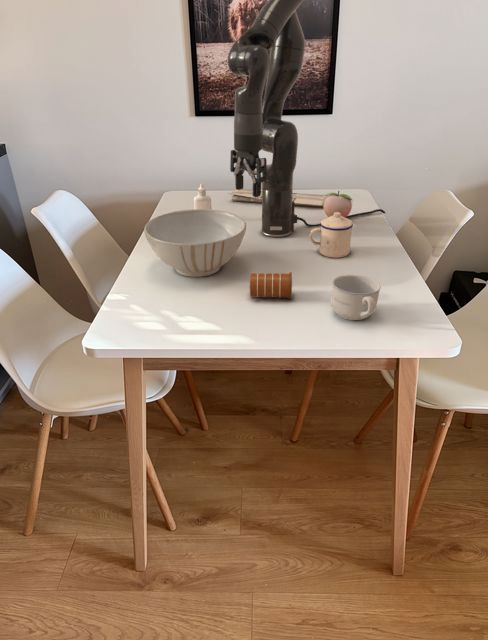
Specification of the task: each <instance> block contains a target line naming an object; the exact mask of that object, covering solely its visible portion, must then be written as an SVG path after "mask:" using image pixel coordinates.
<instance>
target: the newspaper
mask: <svg viewBox="0 0 488 640" xmlns="http://www.w3.org/2000/svg"><path fill="white" fill-rule="evenodd" d="M227 194H229V195H232V196H231V200H232V202H240V203H241V202H243V203H259V204H260V203H261V204H262V190H261V195H260V196H259V197H254V196H253V189H244V188H243V189H240V190H237V189H236V188H235V189H234V190H233V191H231V192H228V193H227ZM325 195H326V194H315V193H299V192H292V201H294V203H295V206H309V207H321V208H322V207H323V208H324V201H325V199H326V198H327V197H328V196H329V195H327V196H325Z"/></svg>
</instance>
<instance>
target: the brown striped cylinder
mask: <svg viewBox="0 0 488 640" xmlns="http://www.w3.org/2000/svg"><path fill="white" fill-rule="evenodd" d="M292 289H293V272H290V271H289V273H281V272H279V273H276V272H275V273H274V272H272V273H271V272H270V273H268V272H265V273H264V272H263V273H262V272H261V273H260V272H251V273H250V275H249V297H250V298H271V299H272V298H279V299H281V298H288V300H291V299H292V296H293V295H292V294H293V291H292Z"/></svg>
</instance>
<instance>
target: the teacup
mask: <svg viewBox="0 0 488 640" xmlns="http://www.w3.org/2000/svg"><path fill="white" fill-rule="evenodd" d="M331 284H332V286H331V295H330V304H331V305H330V306H331V307H332V309H333V311H334V312H335V313H336V314H337V315H338V316H339V317H341V318H343V319H345V320H349V321H361V320H364V319H366V318H367V317H369V316H372V315H373V314H374V313H375V311H376V309H377V306H378V301H379V297H380V292H381V283H379V281H377V280H375V279H373V278H371V277H368V276H364V275H359V274H343V275H339V276H336V277H335V278H333V279H332V281H331Z"/></svg>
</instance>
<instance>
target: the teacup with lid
mask: <svg viewBox="0 0 488 640" xmlns="http://www.w3.org/2000/svg"><path fill="white" fill-rule="evenodd" d="M319 224H320V225H321V226H320V227H314V228H312V229H311V230H310V232H309V235H308V236H309V240H310V242H311V244H313V245H314V246H319V253H320V255H322V256H324V257H328V258H334V259H335V258H338V259H339V258H344V257H347V256H348V255H349V254H350V251H351V240H352V231H353V230H352V229H353V226H354V223H353V221H352V220H351V218H345V217H343V216H341V213H339V212H335V213H334V215H333V216H330V217H328V216H327V217H324V218H323V219H322V220H321V221H320V223H319ZM316 232H320V234H319V237H320V238H319V241H315V240H314V238H313V234H314V233H316Z"/></svg>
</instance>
